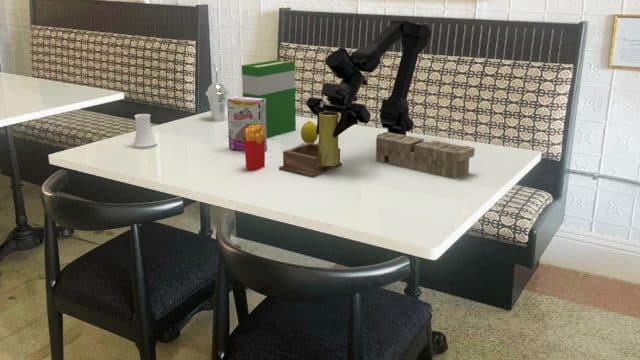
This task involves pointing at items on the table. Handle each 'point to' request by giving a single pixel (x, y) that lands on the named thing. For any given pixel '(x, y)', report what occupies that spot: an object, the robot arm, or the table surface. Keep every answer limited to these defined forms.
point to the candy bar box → (244, 119)
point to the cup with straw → (217, 99)
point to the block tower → (423, 155)
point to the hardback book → (273, 93)
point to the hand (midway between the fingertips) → (325, 135)
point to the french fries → (254, 147)
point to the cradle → (304, 161)
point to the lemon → (309, 132)
